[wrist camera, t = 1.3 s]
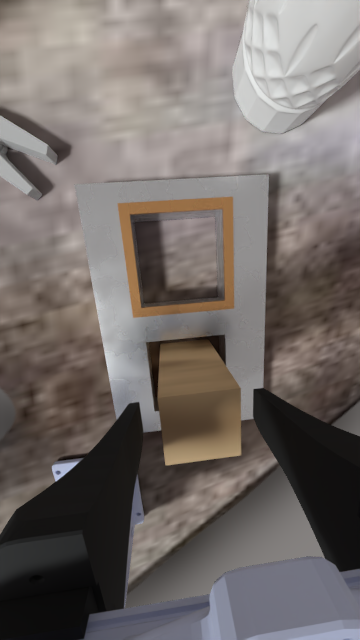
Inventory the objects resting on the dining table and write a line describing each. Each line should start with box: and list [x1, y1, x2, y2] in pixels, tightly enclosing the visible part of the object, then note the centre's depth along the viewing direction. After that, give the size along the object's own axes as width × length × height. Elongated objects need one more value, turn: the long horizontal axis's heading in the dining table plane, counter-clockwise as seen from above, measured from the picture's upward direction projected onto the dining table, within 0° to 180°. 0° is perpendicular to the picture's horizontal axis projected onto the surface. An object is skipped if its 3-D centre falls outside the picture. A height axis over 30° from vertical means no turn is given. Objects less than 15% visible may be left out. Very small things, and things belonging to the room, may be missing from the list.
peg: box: [158, 339, 241, 465], centre depth 15 cm, size 4×4×8 cm
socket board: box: [74, 174, 269, 433], centre depth 16 cm, size 20×13×2 cm, turn 4°
